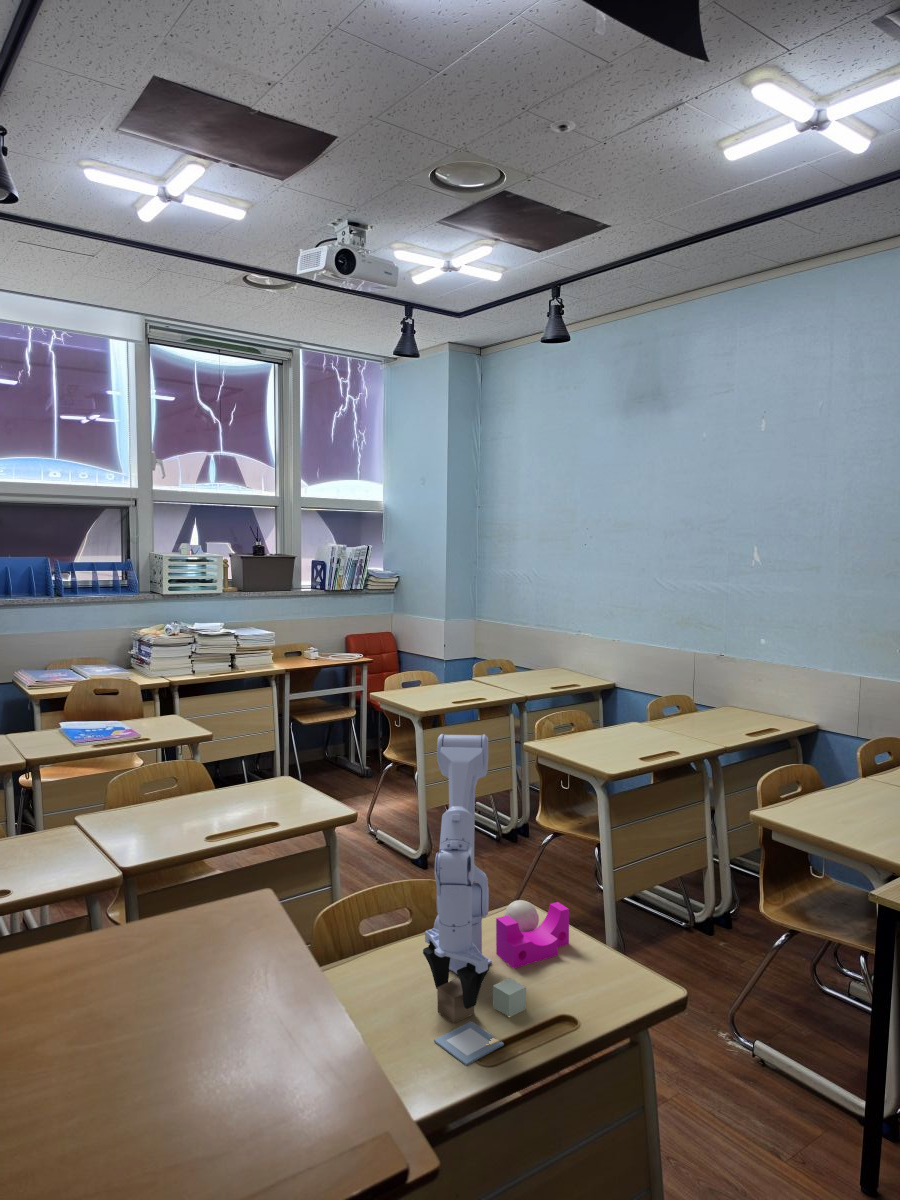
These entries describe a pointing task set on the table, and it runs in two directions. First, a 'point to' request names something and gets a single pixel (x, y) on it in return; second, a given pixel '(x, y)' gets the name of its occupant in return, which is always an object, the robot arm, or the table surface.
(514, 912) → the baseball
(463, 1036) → the pad
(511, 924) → the toy block
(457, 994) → the walnut cube
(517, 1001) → the sage cube
